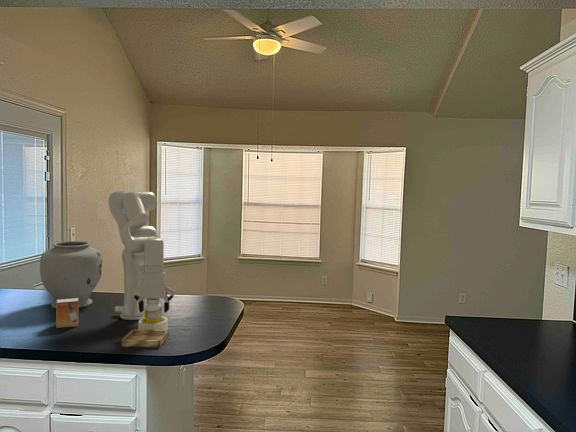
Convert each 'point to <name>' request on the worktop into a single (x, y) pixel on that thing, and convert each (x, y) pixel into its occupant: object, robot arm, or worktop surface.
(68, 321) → the small box
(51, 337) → the worktop surface
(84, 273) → the grey ceramic vase
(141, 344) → the tray
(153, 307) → the supplement bottle
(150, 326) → the holder
